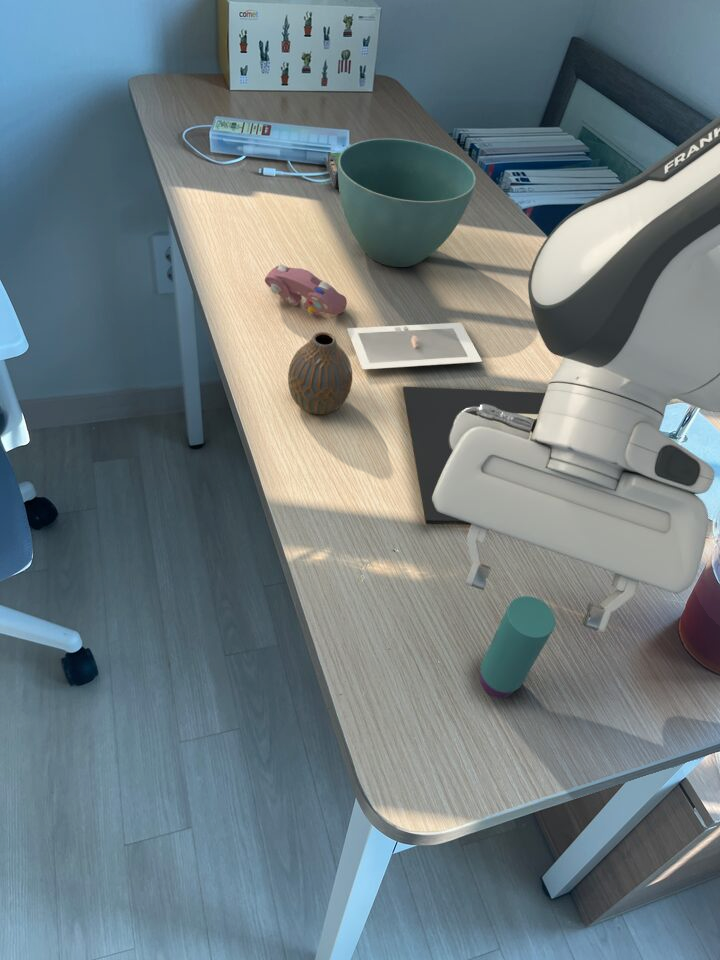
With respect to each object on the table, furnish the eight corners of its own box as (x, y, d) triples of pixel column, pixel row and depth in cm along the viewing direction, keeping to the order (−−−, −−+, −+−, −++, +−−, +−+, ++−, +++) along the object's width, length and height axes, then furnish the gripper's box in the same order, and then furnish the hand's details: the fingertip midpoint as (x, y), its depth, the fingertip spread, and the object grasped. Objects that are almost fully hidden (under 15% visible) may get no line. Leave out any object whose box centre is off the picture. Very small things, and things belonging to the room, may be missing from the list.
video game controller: (268, 306, 98) (255, 274, 91) (285, 278, 99) (274, 245, 92) (334, 334, 95) (326, 304, 89) (351, 305, 97) (344, 273, 90)
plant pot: (304, 235, 108) (311, 150, 99) (402, 209, 117) (415, 128, 108) (383, 301, 99) (397, 214, 90) (481, 267, 108) (504, 185, 99)
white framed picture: (480, 368, 92) (484, 354, 90) (361, 376, 88) (363, 362, 86) (459, 329, 97) (462, 315, 95) (345, 335, 93) (347, 321, 91)
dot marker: (513, 661, 65) (548, 596, 57) (522, 701, 62) (560, 637, 55) (472, 662, 64) (503, 595, 57) (480, 701, 62) (513, 637, 54)
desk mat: (599, 397, 91) (600, 394, 90) (654, 527, 77) (657, 524, 77) (402, 388, 87) (403, 385, 87) (425, 522, 74) (426, 519, 74)
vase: (277, 412, 82) (280, 348, 76) (299, 375, 87) (304, 312, 80) (337, 431, 81) (345, 367, 75) (356, 392, 86) (365, 329, 80)
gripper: (461, 391, 56) (402, 566, 57) (738, 479, 53) (672, 663, 54) (463, 400, 63) (409, 558, 63) (711, 480, 60) (652, 644, 60)
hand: (532, 607), depth 58 cm, fingers open, 8 cm apart
